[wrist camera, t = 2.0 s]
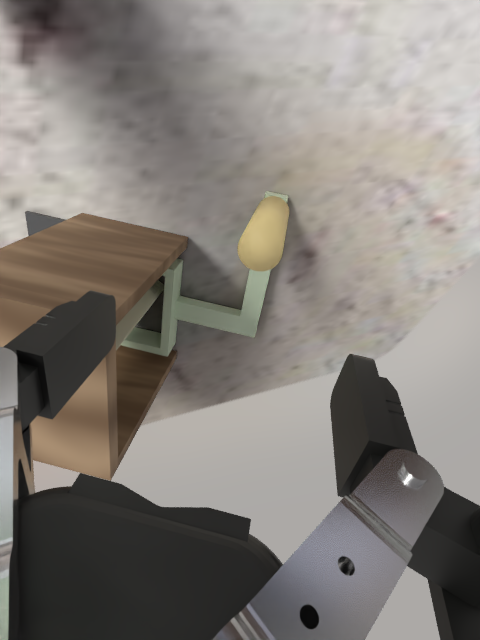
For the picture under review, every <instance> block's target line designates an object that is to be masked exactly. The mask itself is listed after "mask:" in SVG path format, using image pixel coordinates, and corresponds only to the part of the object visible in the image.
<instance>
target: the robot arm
mask: <svg viewBox="0 0 480 640" xmlns="http://www.w3.org/2000/svg"><path fill="white" fill-rule="evenodd" d="M115 338H116V301H115V297H114V296H113V295H109V294H105V293H100V292H96V291H92V290H90V291H88V292H87V293H86V294H84V295H83V296H82V297H81V298H79V299H78V300H77V301H69V302H67V303H64V304H61V305H59V306H56V307H55V308H54V309H52V310H51V311H50V312H48V313H47V314H46V315H45V317H44V316H43V317H42V318H40V319H39V320H38V321H37V322H36V324H35V323H34V324H33V325H31V326H30V327H29V328H27V329H26V330H25V331H23V332H22V333H21V334H19V335H18V336H17V337H15V338H14V339H13V340H11V341H10V342H9V343H8V344H6V345H5V346H4V347H0V640H365V638H366V637H367V635H368V633H369V631H370V630H371V628H372V626H373V624H374V623H375V621H376V619H377V617H378V616H379V614H380V612H381V610H382V608H383V607H384V605H385V603H386V601H387V600H388V598H389V596H390V594H391V593H392V591H393V589H394V587H395V586H396V584H397V582H398V580H399V579H400V577H401V575H402V573H403V572H404V570H405V568H406V566H408V567H410V568H411V569H413V570H415V571H416V572H418V573H419V574H421V575H423V576H424V577H426V578H427V579H428V583H429V588H430V593H431V598H432V602H433V607H434V611H435V616H436V621H437V626H438V631H439V635H440V640H480V506H479V505H477V504H475V503H473V502H471V501H469V500H468V499H466V498H464V497H462V496H460V495H458V494H456V493H454V492H452V491H450V490H449V489H447V488H446V487H444V484H443V481H442V479H441V477H440V475H439V473H438V472H437V470H436V469H435V468H434V467H433V466H432V465H431V464H430V463H429V462H428V461H427V460H425V459H424V458H423V457H421V456H420V455H418V453H417V450H416V448H415V444H414V441H413V438H412V436H411V432H410V430H409V426H408V423H407V420H406V417H404V411H403V408H402V406H401V402H400V399H399V396H398V393H397V391H396V389H395V388H394V387H393V385H392V384H391V383H390V382H389V381H388V379H387V378H383V377H379V375H378V371H377V368H376V364H375V361H374V360H373V359H370V358H366V357H362V356H357V355H353V354H349V355H348V357H347V359H346V361H345V363H344V365H343V368H342V370H341V372H340V375H339V377H338V379H337V382H336V384H335V386H334V389H333V392H332V396H331V403H330V408H331V421H332V433H333V444H334V457H335V469H336V480H337V492H338V496H340V497H344V498H343V499H342V500H341V501H340V502H339V503H338V504H337V505H336V507H334V508H333V510H332V511H331V512H330V513H329V514H328V515H327V516H326V517H325V519H324V520H323V521H322V522H321V523H320V524H319V525H318V526H317V527H316V529H315V530H314V531H313V532H312V533H311V534H310V535H309V536H308V538H307V539H306V540H305V541H304V542H303V543H302V544H301V545H300V547H299V548H298V549H297V550H296V551H295V552H294V554H292V555H291V557H290V558H289V559H288V560H287V561H286V562H285V563H284V564H282V563H281V561H280V560H279V559H278V558H277V557H276V555H275V554H274V553H273V552H272V551H271V550H270V549H269V548H268V547H267V546H266V545H265V544H263V543H262V542H261V541H259V540H258V539H257V538H255V537H253V536H252V535H250V534H249V529H250V522H251V519H249V518H245V517H241V516H238V515H234V514H230V513H226V512H223V511H219V510H215V509H211V508H191V507H189V508H188V507H185V508H184V507H181V508H179V507H176V508H175V507H160V506H157V505H155V504H153V503H152V502H150V501H149V500H147V499H145V498H144V497H142V496H140V495H139V494H137V493H135V492H134V491H132V490H130V489H129V488H127V487H125V486H124V485H122V484H119V483H115V482H111V481H108V480H104V479H100V478H97V477H93V476H89V475H86V474H82V473H80V474H79V476H78V478H77V479H76V481H75V482H74V484H73V485H72V487H59V488H53V489H48V490H43V491H40V492H37V493H35V488H34V474H33V473H34V472H33V450H32V429H31V424H30V423H31V422H32V421H33V420H34V419H35V418H36V416H41V417H45V418H48V419H52V420H53V418H54V417H55V416H56V415H57V414H58V412H59V411H60V410H61V409H62V408H63V406H64V405H65V404H66V403H67V402H68V401H69V399H70V398H71V397H72V396H73V395H74V393H75V392H76V391H77V390H78V389H79V387H80V386H81V385H82V384H83V383H84V381H85V380H86V379H87V378H88V377H89V375H90V374H91V373H92V372H93V371H94V370H95V368H96V367H97V366H98V365H99V364H100V362H101V361H102V360H103V359H104V358H105V356H106V355H107V354H108V353H109V352H110V350H111V349H112V347H113V345H114V342H115Z"/></svg>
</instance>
